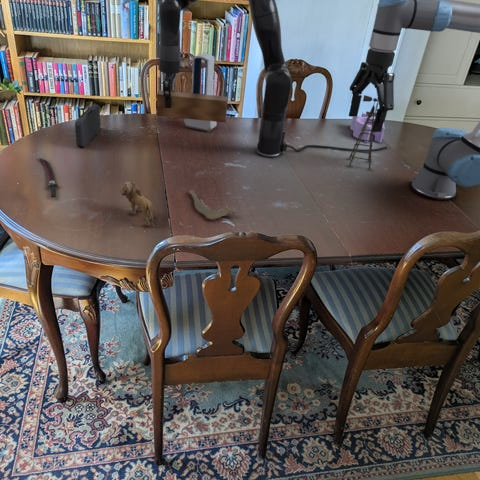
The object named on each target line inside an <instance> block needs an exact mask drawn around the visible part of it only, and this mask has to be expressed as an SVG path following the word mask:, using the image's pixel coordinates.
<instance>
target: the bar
mask: <svg viewBox="0 0 480 480" xmlns="http://www.w3.org/2000/svg"><path fill="white" fill-rule="evenodd" d="M166 94H169V92H168V91H167V92H166ZM163 95H164V94H163V89H159V90H158V92H157V93H156V116H157V117H162V118H163V117H165V118H175V119H194V120H205V121H215V122H216V123H226V121H227V114H228V101H229V100H228V99H229V97H228V96H223V95H215V94H214V95H213V94H212V95H204V93H203V94H201V93H200V94H194V93H192V92H182V91H175V92H172V97H171V108H165V97H164V96H163Z"/></svg>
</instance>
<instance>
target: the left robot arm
mask: <svg viewBox="0 0 480 480" xmlns="http://www.w3.org/2000/svg"><path fill="white" fill-rule="evenodd" d="M198 1H199V0H160V1H159V4H158V5H159V7H158V9H159V10H158V11H159V12H158V13H159V26H160V28H159V48H158V71H159V72H160V73H164V76H163V78H162V79H163V80H162V87H163V88H162V90H163V94H164V95H163V96H164V97H165V108H171V97H172V92H176V91H175V90H176V86H177V85H176V80H177V74H180V72H181V62H182V59H181V57H182V52H181V50H182V49H181V28H180V27H181V14H182V13H181V12H182V11H184V10H185V9H186V8H188V7H189V6H190V5H192V4H195V3H197V2H198ZM276 2H277V1H276V0H248V5H249V6H248V7H249V12H250V17H251V22H252V26H253V31H254V34H255V37H256V40H257V43H258V46H259V48H260V50H261V56H262V61H263V68H264V80H265V81H264V82H265V86H264V87H265V88H264V96H263V101H262V105H261V114H260V123H259V131H258V138H257V139H258V140H257V143H256V153H257V154H258V155H259V156H262V157H264V158H265V157H266V158H277V157H279V156H281V155H282V154H283V152H287V149H288V148H289V149H292V150H293V151H294V152H301V151H303V150H304V149H305V148H321V149H322V148H323V149H334V150H341V151H350V152H352V150H353V148H346V147H338V146H329V145H321V144H320V145H319V144H307V145H303V146H302V147H301V148H299V149H296V147H294V146H292V145H288V143H287V142H285V136H286V130H284V128H285V122H286V115H287V108H288V105H289V103H290V101H289V100H290V96H291V95H290V94H291V90H292V76H291V74H290V71H289V69H288V66H287V63H286V60H285V59H286V58H285V56H284V52H283V47H282V29H281V21H280V16H279V10H278V6H277V3H276ZM167 91H168V92H169V94H166V92H167ZM387 148H388V145H386V146H382V147H378V148H372V151H371V152H375V151H382V150H384V149H387ZM357 151H362V152H369V148H368V149H367V148H366V149H359V148H357Z"/></svg>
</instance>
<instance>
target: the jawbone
mask: <svg viewBox="0 0 480 480" xmlns="http://www.w3.org/2000/svg"><path fill="white" fill-rule="evenodd" d="M188 192H189V195H191V196H192V199H193V204H194V208H195V210H196V211H197V212H198V213H200V214H201V215H203V216H204V217H205V219H207V220H209V221H213V220H217V219H219V218H222V217H227V218H231V215H232V212H234V213H237V212H239V210H238V209H237V208H234V207H223V208H222V209H216V210H215V209H211V207H209V206H207V205H206V204H205V203H204V199H201V198H200V199H199V198H198V195H197V193H196V191H195V190H194V189H189V190H188Z"/></svg>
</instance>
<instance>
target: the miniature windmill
mask: <svg viewBox="0 0 480 480" xmlns="http://www.w3.org/2000/svg"><path fill="white" fill-rule="evenodd" d="M372 101H373V105H372V106H371V109H370V111H368V110H367V111H365V113H366V115H367V116H368V117H367V118H366V122H365V124H364V126H363V128H362V129H361V133H360V135H359V137H358V138H356V142H355V144H354V145H353V148H352V149H353V150H352V151H350V152H351V153H350V154H349V157H348V159H349V160H350V161H349V164H348V167H351V165H352V163H353V160H354V159H357V160H364V161H367V162H368V170H371V165H372V163H371V162H372V161H373V159H372V152H373V151H372V149H373V137H374V135H373V132H372V128H373V124H374V119H375V117H376V113H377V109H378V108H379V102H378V96H377V98H376V97H372V96H369V95H365V94H364V95H363V97H362V102H368V103H369V102H372ZM375 103H376V104H375ZM370 118H372V120H371V119H370ZM369 120H370V121H372V122H368V121H369ZM368 123H372V128H371V130H368V129H366V126H367V124H368ZM365 130H367V131H371V134H370V133H364V131H365ZM361 134H362V135H361ZM363 134H369V135H370V137H369V140H363V139H361V138H362V136H363ZM360 136H361V137H360ZM361 141H363V142H364V141H368V142H369V145H368V144H364V143H363V144H362V143H361ZM359 146H362V147H363V146H364V147H369V148H368V149H369V151H357V149H359ZM356 153H361V154H368V157H367V158H364V157H358V156H356Z"/></svg>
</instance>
